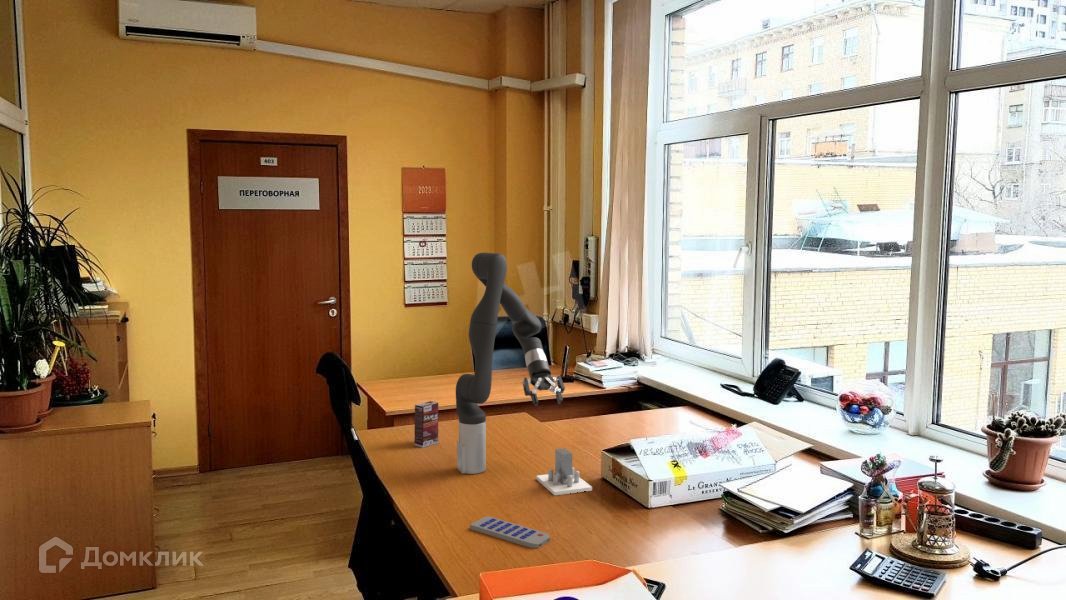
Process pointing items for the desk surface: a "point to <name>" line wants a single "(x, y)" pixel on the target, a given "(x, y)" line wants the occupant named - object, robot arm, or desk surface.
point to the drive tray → (572, 485)
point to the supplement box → (426, 424)
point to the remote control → (510, 532)
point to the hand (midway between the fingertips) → (548, 403)
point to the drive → (563, 464)
